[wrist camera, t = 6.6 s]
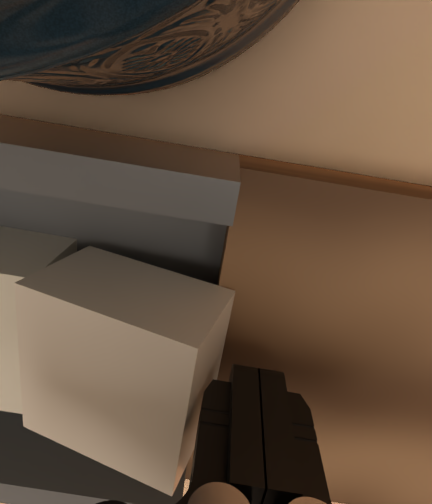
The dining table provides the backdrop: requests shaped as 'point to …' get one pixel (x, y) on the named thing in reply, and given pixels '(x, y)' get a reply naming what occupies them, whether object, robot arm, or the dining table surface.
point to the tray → (112, 240)
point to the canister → (127, 41)
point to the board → (339, 317)
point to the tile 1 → (3, 297)
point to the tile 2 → (119, 360)
